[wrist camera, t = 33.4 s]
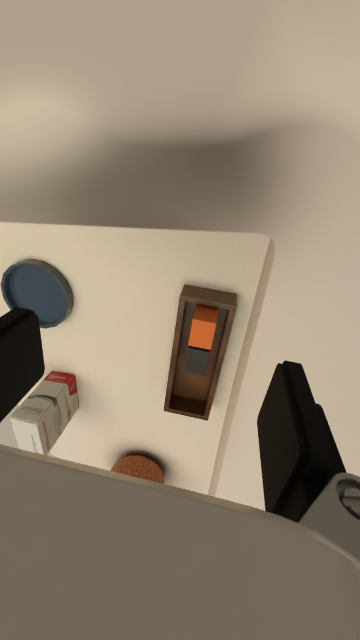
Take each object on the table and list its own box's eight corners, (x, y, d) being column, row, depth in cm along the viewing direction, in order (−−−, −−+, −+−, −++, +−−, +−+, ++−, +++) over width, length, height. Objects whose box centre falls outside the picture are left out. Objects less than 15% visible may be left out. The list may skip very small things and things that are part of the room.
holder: (184, 284, 42) (180, 295, 38) (236, 294, 41) (236, 305, 38) (168, 394, 52) (163, 410, 49) (209, 403, 52) (207, 420, 48)
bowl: (-4, 268, 46) (-12, 271, 44) (54, 252, 43) (47, 255, 41) (30, 327, 50) (23, 332, 49) (84, 316, 47) (79, 321, 46)
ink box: (50, 370, 54) (7, 417, 44) (75, 374, 54) (37, 423, 43) (56, 403, 58) (18, 454, 48) (79, 407, 58) (46, 460, 47)
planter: (103, 456, 64) (80, 507, 54) (145, 440, 59) (127, 492, 49) (137, 489, 67) (122, 541, 58) (179, 476, 63) (170, 531, 53)
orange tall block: (219, 300, 41) (216, 323, 35) (213, 324, 43) (210, 350, 37) (198, 296, 42) (192, 318, 36) (194, 320, 44) (188, 345, 37)
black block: (213, 326, 44) (210, 352, 37) (208, 348, 45) (204, 376, 39) (193, 322, 44) (187, 347, 38) (190, 344, 46) (183, 371, 40)
